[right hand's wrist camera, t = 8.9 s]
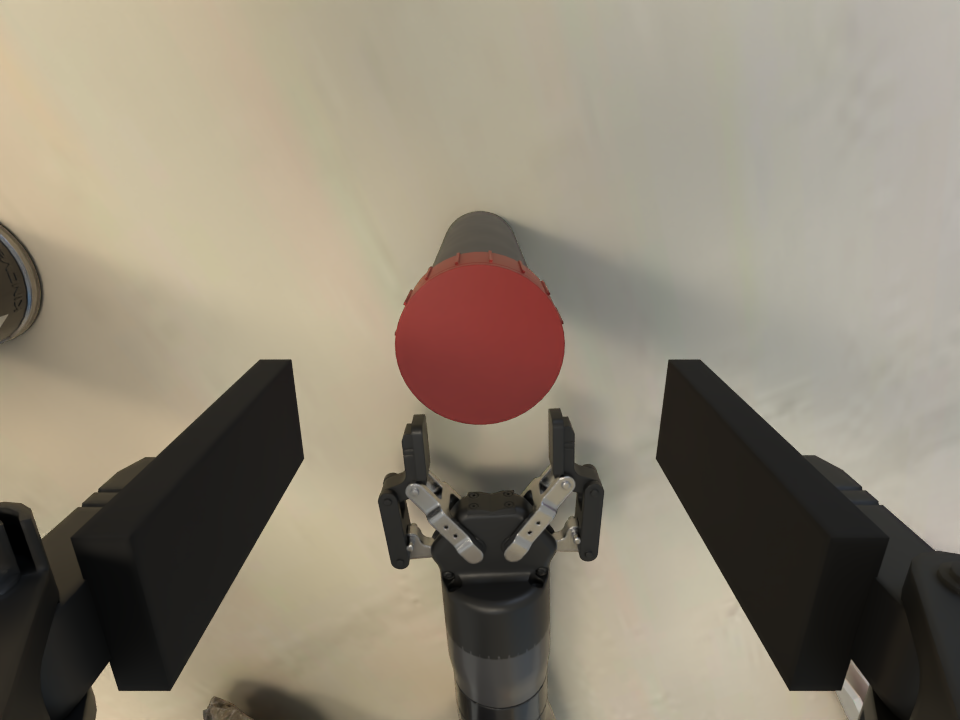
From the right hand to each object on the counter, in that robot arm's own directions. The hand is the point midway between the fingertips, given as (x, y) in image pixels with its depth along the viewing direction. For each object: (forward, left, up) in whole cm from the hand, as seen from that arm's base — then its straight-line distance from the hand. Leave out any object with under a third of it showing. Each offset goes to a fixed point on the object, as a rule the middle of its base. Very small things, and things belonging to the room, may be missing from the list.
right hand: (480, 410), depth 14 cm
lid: (0, 0, -5) cm, 5 cm away
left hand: (+5, -8, -18) cm, 21 cm away
